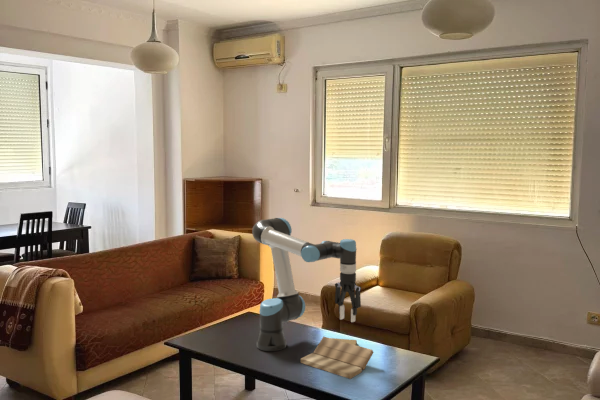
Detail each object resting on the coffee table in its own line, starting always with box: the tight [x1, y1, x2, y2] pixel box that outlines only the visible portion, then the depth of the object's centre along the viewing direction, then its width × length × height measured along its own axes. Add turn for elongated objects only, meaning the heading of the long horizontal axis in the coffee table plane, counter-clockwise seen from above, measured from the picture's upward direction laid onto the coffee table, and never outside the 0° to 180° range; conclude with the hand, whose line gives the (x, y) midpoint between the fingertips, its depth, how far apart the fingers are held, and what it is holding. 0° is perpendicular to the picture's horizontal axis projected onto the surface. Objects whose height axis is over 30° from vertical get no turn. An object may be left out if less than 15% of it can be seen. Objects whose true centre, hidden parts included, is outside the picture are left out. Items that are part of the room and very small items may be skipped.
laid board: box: [300, 352, 363, 380], centre depth 241 cm, size 28×9×2 cm, turn 51°
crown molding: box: [330, 337, 358, 346], centre depth 266 cm, size 14×15×4 cm
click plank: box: [312, 336, 374, 371], centre depth 248 cm, size 28×10×2 cm
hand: (347, 320), depth 250 cm, fingers open, 6 cm apart
